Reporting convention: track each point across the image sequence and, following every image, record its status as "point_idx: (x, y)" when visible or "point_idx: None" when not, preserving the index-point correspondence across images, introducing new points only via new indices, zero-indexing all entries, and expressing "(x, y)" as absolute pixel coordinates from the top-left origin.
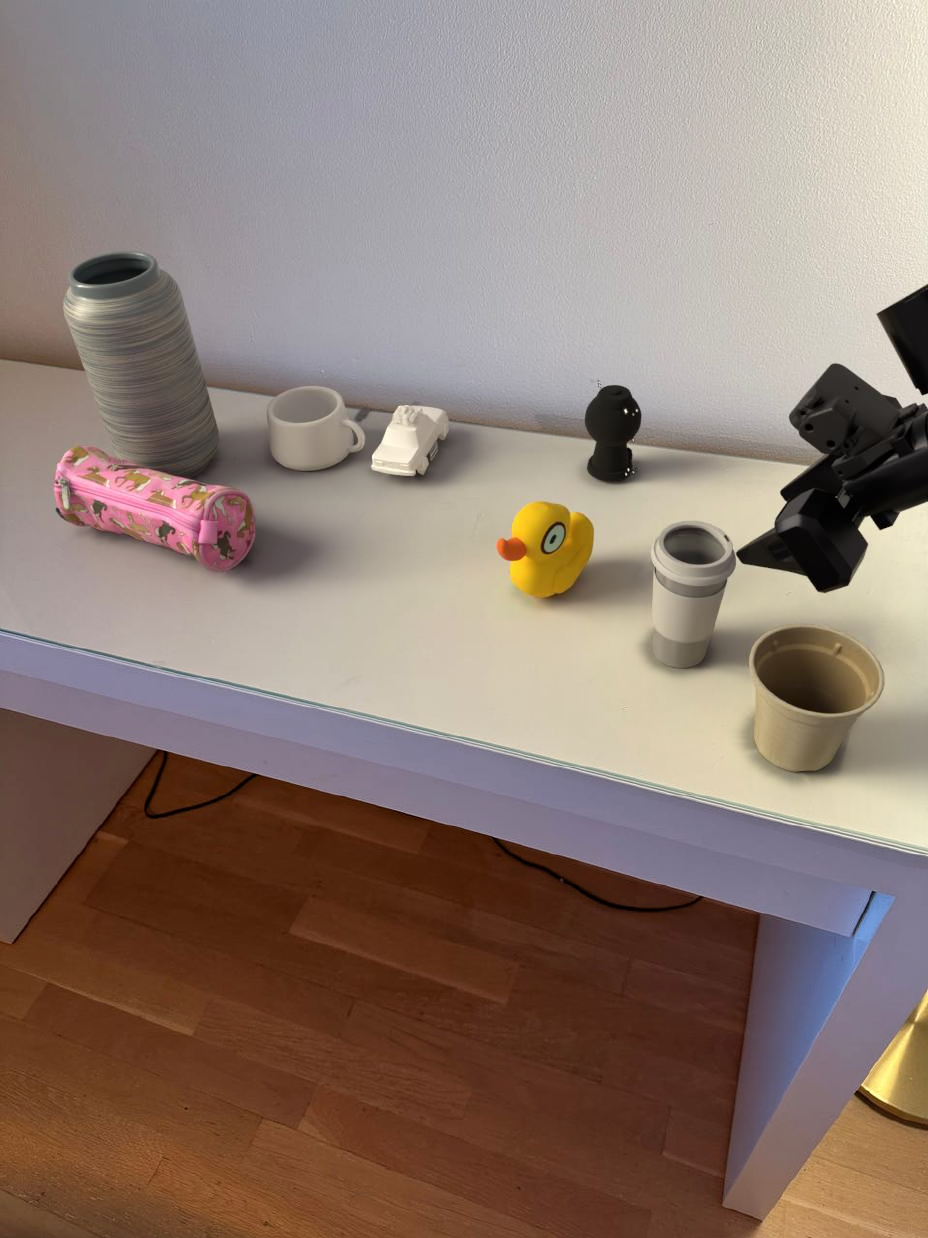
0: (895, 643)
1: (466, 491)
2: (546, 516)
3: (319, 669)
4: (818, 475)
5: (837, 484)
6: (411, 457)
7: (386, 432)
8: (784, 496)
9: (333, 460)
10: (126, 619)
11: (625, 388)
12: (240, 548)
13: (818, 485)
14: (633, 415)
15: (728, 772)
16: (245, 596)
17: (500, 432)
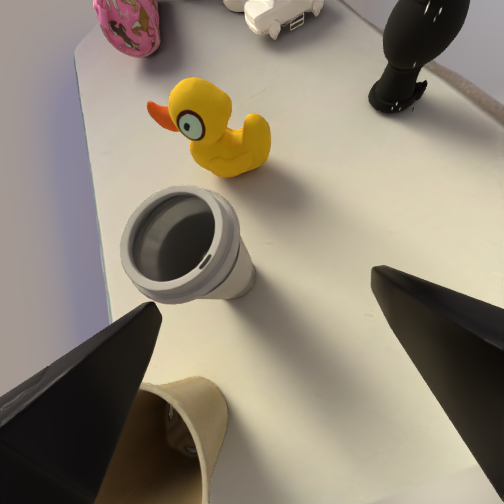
0: (389, 459)
1: (282, 66)
2: (181, 98)
3: (107, 137)
4: (463, 357)
5: (489, 439)
6: (259, 14)
7: None
8: (373, 280)
9: (242, 6)
10: (97, 65)
11: None
12: (143, 45)
13: (437, 361)
14: (433, 21)
15: (145, 379)
16: (132, 77)
17: (360, 25)
